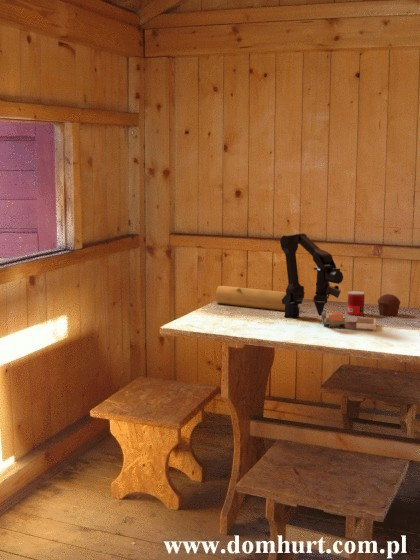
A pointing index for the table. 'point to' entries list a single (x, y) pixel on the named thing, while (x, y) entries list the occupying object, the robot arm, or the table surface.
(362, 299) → the canned food
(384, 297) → the muffin
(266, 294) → the log
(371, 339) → the table surface
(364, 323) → the dock
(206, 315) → the table surface
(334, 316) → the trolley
